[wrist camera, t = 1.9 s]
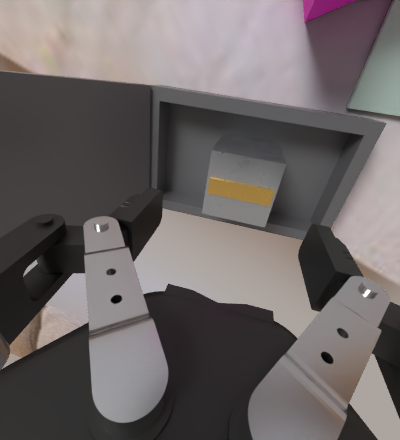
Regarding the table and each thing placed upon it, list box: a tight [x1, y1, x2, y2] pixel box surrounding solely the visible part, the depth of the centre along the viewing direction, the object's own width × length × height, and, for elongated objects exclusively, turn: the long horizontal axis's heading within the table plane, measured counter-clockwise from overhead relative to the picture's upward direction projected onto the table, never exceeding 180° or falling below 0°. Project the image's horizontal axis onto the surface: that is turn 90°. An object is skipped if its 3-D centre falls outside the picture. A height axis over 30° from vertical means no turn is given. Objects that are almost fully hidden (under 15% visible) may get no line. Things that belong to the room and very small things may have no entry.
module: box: [202, 133, 286, 227], centre depth 19 cm, size 5×5×7 cm
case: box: [0, 70, 386, 240], centre depth 16 cm, size 24×11×16 cm, turn 82°
